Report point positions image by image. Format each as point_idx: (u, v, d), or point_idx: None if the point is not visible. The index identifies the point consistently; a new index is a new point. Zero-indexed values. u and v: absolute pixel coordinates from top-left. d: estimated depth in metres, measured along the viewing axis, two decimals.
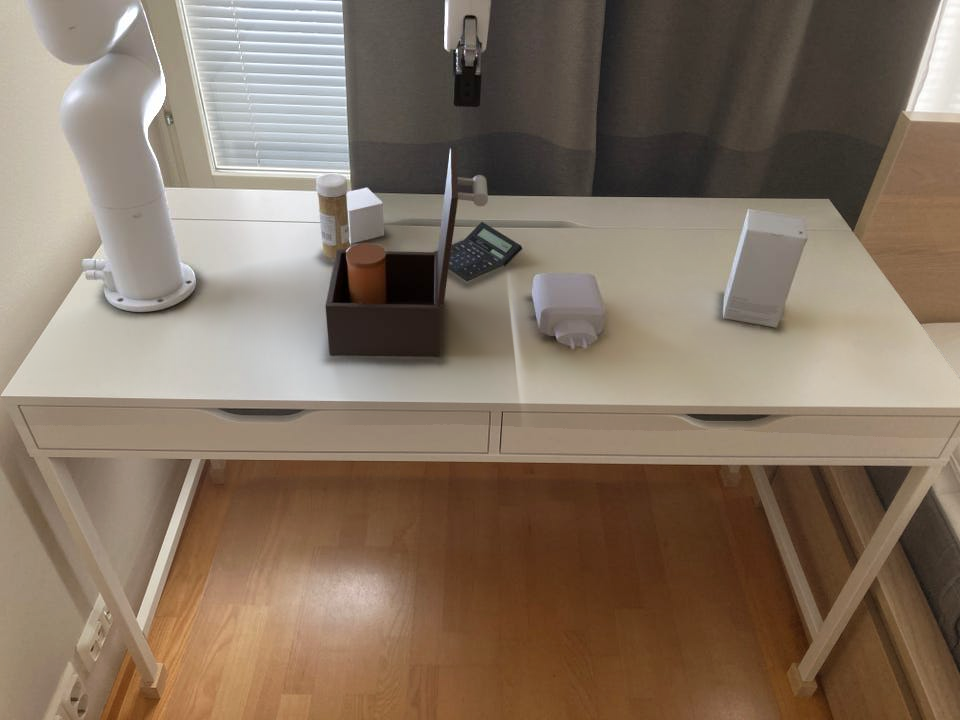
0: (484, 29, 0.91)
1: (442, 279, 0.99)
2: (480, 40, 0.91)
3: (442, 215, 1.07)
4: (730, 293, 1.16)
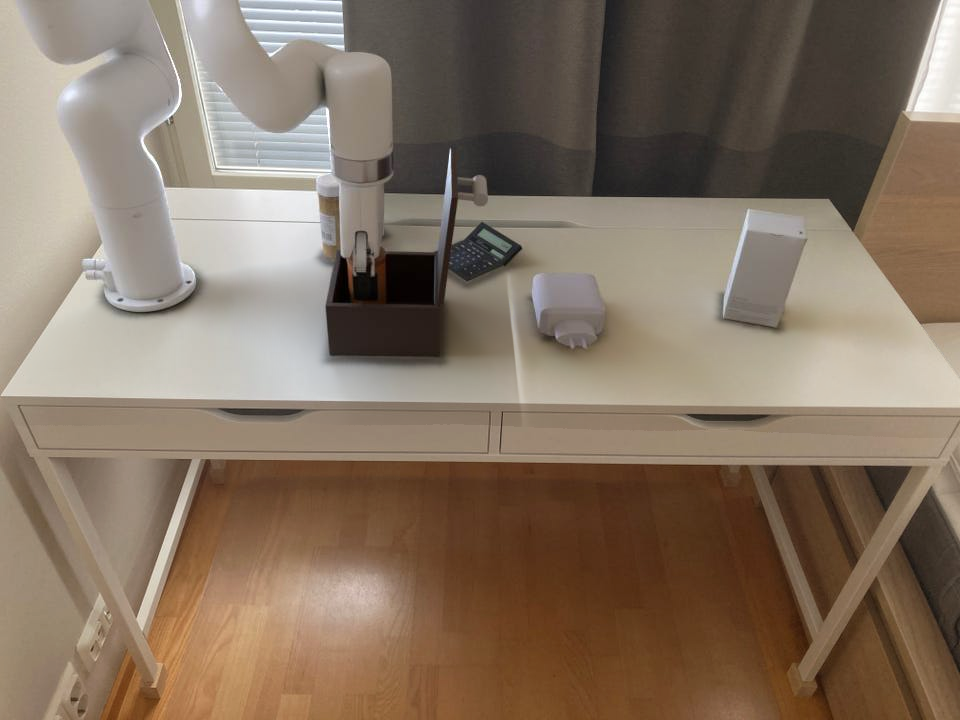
0: (375, 241, 0.98)
1: (442, 279, 0.99)
2: (373, 255, 0.99)
3: (442, 215, 1.07)
4: (730, 293, 1.16)
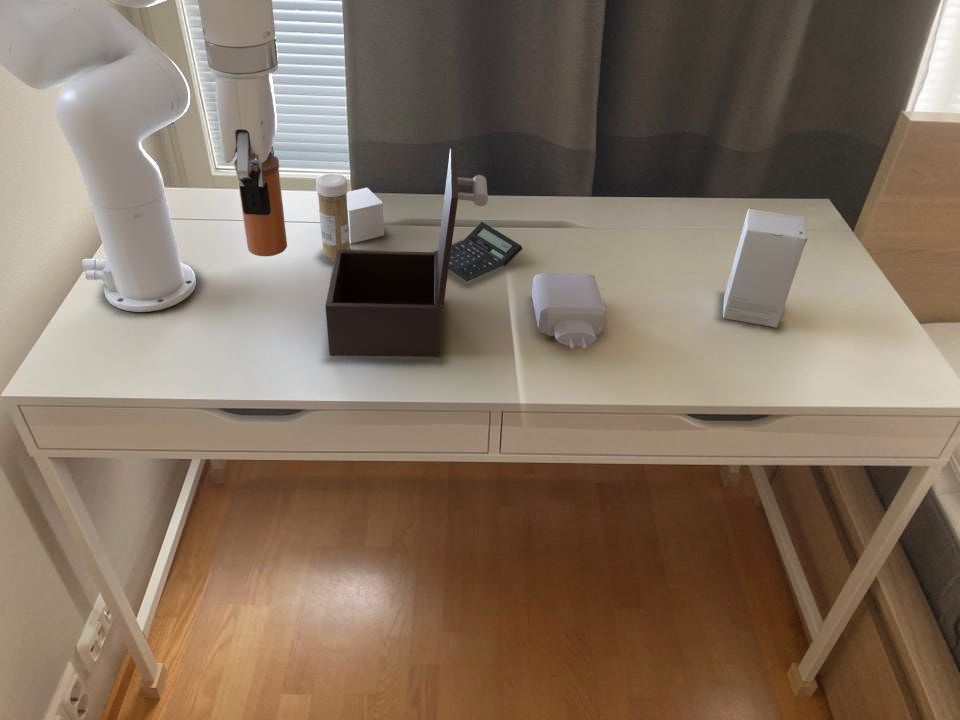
0: (258, 142, 0.89)
1: (442, 279, 0.99)
2: (258, 159, 0.91)
3: (442, 215, 1.07)
4: (730, 293, 1.16)
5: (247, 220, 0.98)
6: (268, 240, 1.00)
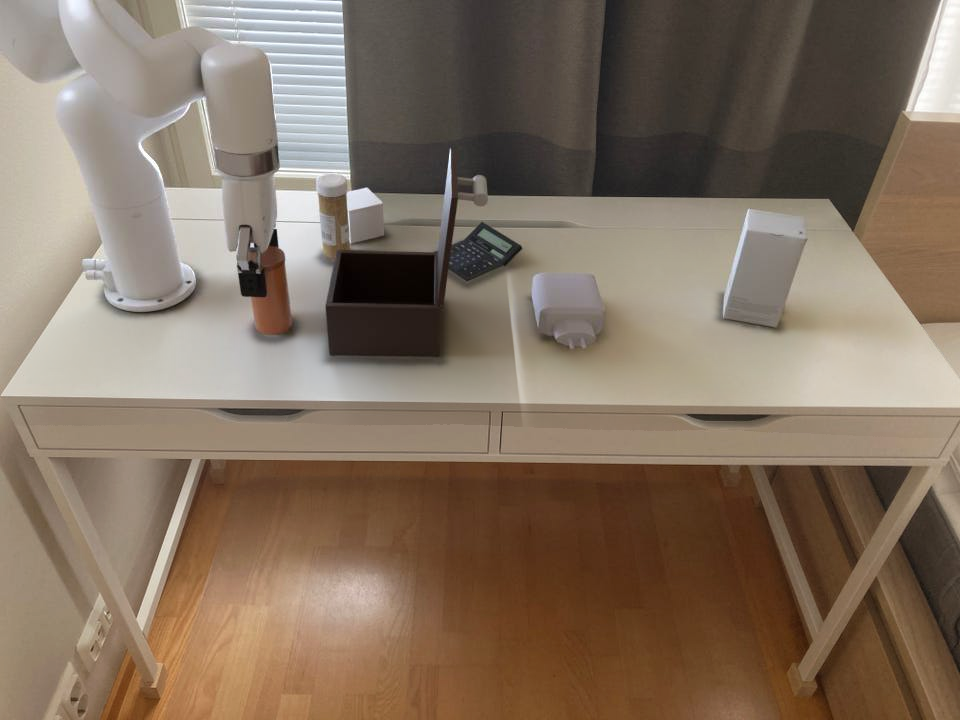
0: (260, 235, 0.97)
1: (442, 279, 0.99)
2: (258, 244, 0.97)
3: (442, 215, 1.07)
4: (730, 293, 1.16)
5: (256, 307, 1.07)
6: (275, 325, 1.08)
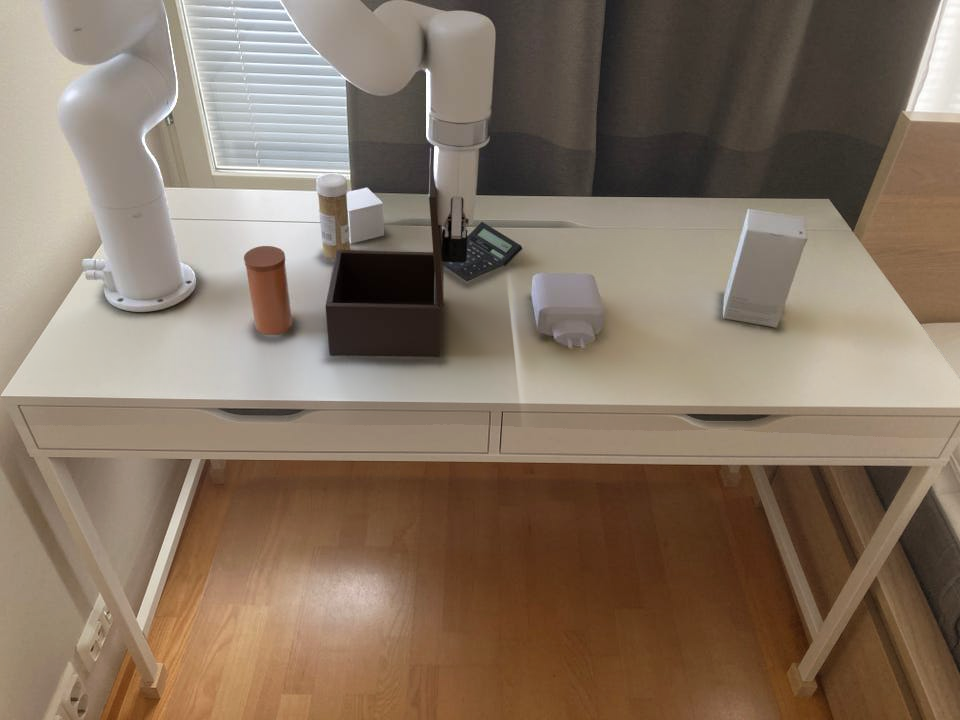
0: (470, 208, 0.95)
1: (437, 279, 0.99)
2: None
3: None
4: (730, 293, 1.16)
5: (256, 307, 1.07)
6: (275, 325, 1.08)
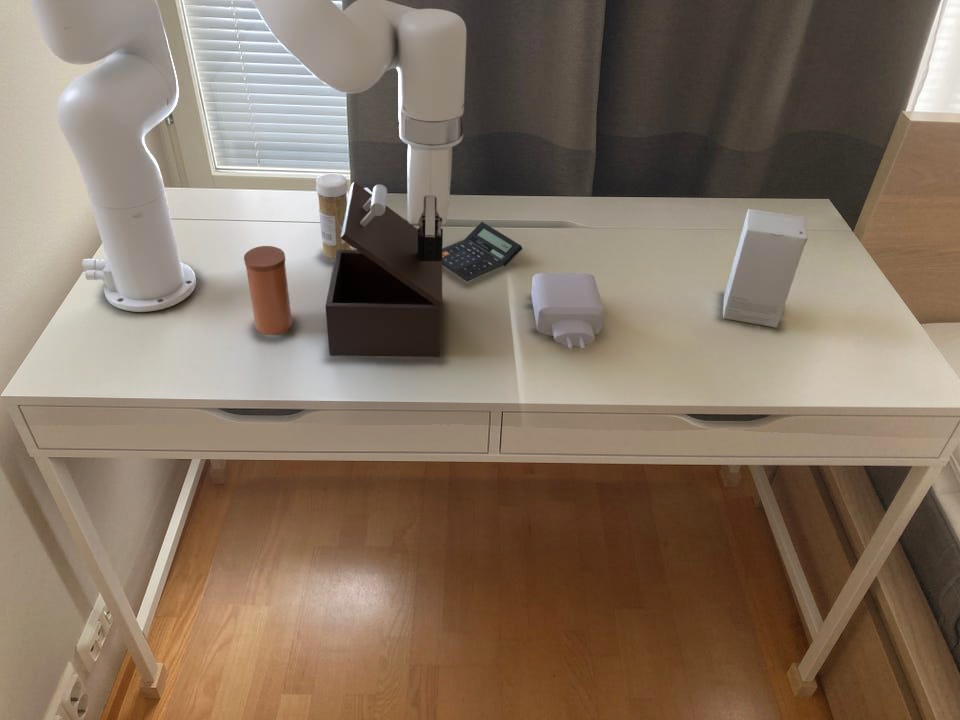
0: (444, 206, 0.95)
1: (415, 289, 1.00)
2: None
3: None
4: (730, 293, 1.16)
5: (256, 307, 1.07)
6: (275, 325, 1.08)
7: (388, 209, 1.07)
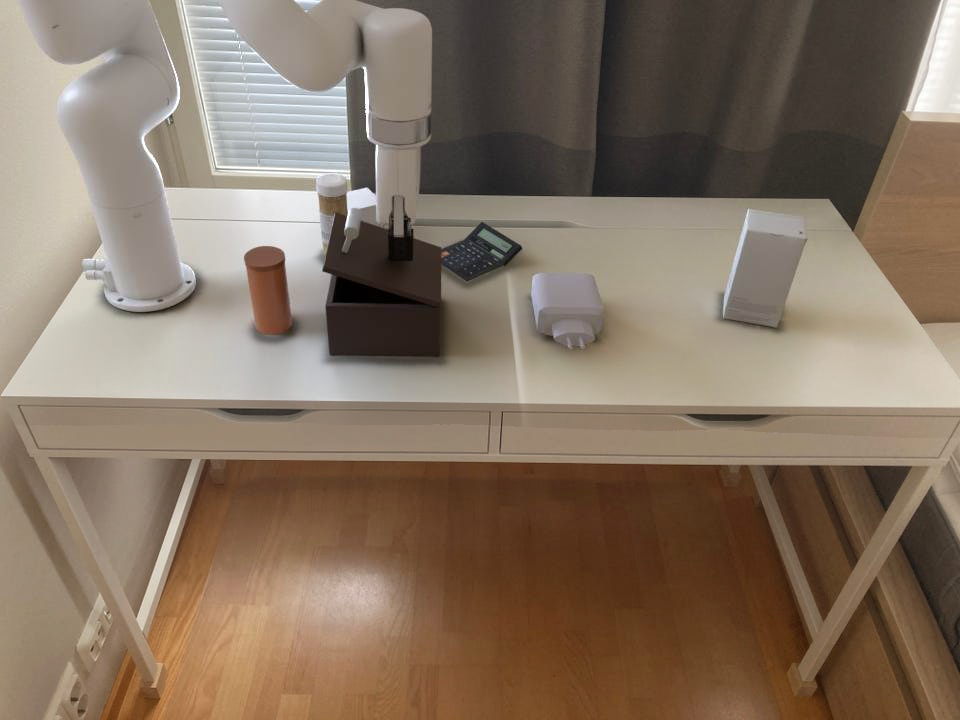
0: (412, 206, 0.95)
1: (410, 297, 1.01)
2: None
3: None
4: (730, 293, 1.16)
5: (256, 307, 1.07)
6: (275, 325, 1.08)
7: (375, 227, 1.09)
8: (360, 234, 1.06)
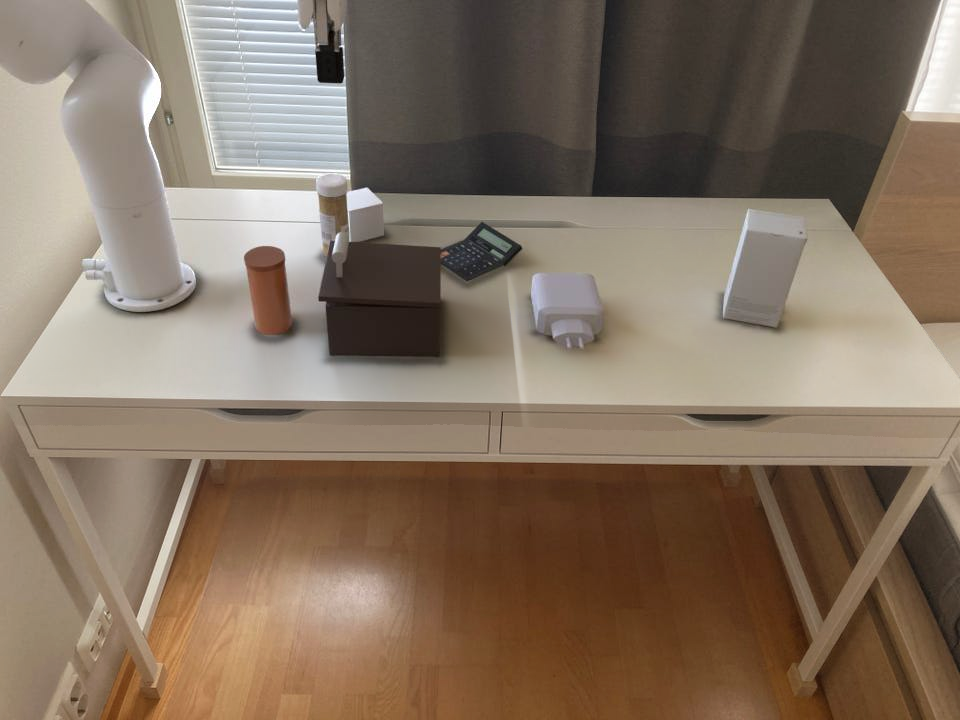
0: (335, 7, 0.91)
1: (408, 304, 1.01)
2: None
3: None
4: (730, 293, 1.16)
5: (256, 307, 1.07)
6: (275, 325, 1.08)
7: (371, 245, 1.11)
8: (355, 255, 1.08)
